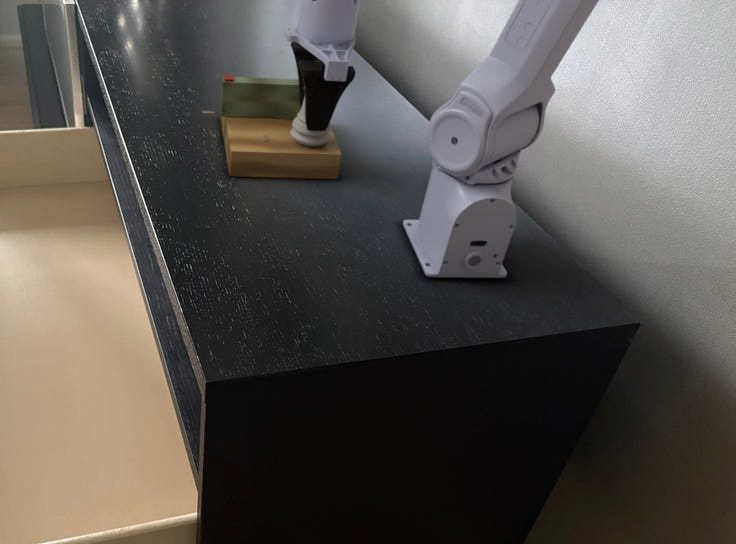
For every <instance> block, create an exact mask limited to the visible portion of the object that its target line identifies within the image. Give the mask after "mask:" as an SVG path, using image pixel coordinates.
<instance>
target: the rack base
mask: <svg viewBox="0 0 736 544" xmlns="http://www.w3.org/2000/svg"><path fill="white" fill-rule="evenodd" d="M300 110H301V108H300ZM215 113H216V112H215V111H207V110H205V111H204V110H202V112H201V114H202V115H215ZM293 120H294V119H280V118H253V117H227V116H221V115H220V124H221V131H222V136H223V143H224V149H225V156H226V157H225V158H226V163H227V169H228V176H229V177H237V178H238V177H240V178H279V179H280V178H281V179H282V178H283V179H313V180H314V179H315V180H316V179H317V180H318V179H321V180H338V178H339V172H340V167H341V162H342V156H343V154H342V152H341V148H340V146H339V144H338V141H337V139H336V136H335V134H334V132H333V129H332V128H331V131H330V132H329V133H330V135H331V137H330V139H329V140H328V141H327V142H326V143H325V144H324V145H320V146H307V145H303V144H300V143H298V142H296V141H295V140H294V138H293V137H292V135H291V133H290V132H291V129H293V126H292V123H293Z"/></svg>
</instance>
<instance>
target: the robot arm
mask: <svg viewBox="0 0 736 544" xmlns="http://www.w3.org/2000/svg"><path fill="white" fill-rule="evenodd" d="M599 1H600V0H517V3H516V4H515V6H514V8H513V10H512V12H511V14H510V15H509V17H508V19H507V21H506V23H505V25H504V27H503V29H502V31H501V32H500V34H499V36H498V37H497V40H496V41H495V44H494V46H493V48H491V51H490V52H489V54H488V56H486V58H485V59H484V60H483V61H482V62H480V63H479V65H478V66H477V67H476V68H475V69H474V70H472V72H470V74H468V75H467V76H466V77H465V78H464V79H463V80H462V81H461V83H460V84H459V86H458V87H457V89H456V91H455V93H454V95H453V96H452V97H451V99H450V100H449V101H447V102H446V103H445V104H443V105H441V106H440V107H438V108H437V109H436V110H435V112H434V113H433V114H432V115H431V118H430V119H429V122H428V125H427V129H426V144H427V148H428V152H429V155H430V157H431V158H432V163H431V165H432V169H431V172H430V176H429V180H428V184H427V188H426V192H425V195H424V199H423V203H422V206H421V210H420V214H419V217H418V219H404V220H403V221H402V226H403V228H404V230H405V233H406V235H407V237H408V240H409V242H410V244H411V246H412V249H413V250H414V252H415V254H416V257H417V259H418V262H419V264H420V266H421V268H422V270H423V273H424V274H425V276H426V277H428V278H467V279H468V278H472V279H473V278H474V279H475V278H476V279H477V278H479V279H480V278H481V279H483V278H485V279H504V278H506V277H507V276H508V272H507V270H506V268H505V266H504V264H503V262H504V259H505V256H506V253H507V250H508V247H509V246H510V242H511V239H512V236H513V235H514V232H515V229H516V226H517V221H518V214H517V211H516V208H515V206H514V203H513V199H512V183H513V180H514V176H515V173H516V171H517V168H518V167H517V166H518V161H519V157H520V156H521V151H522V150H526V149H527V148H529V147H531V146H532V145H533V144H534V143H535V142H536V141H537V140H538V138H539V137H540V135H541V133H542V131H543V128H544V125H545V117H546V110H547V107H548V104H549V102H550V101H551V99H552V97H553V96H554V94H555V93H556V86H555V84H554V83H553V80H552V76H553V75H554V73H555V72H556V70H557V68H558V67H559V66H560V63H562V60H563V59H564V58H565V55H566V54H567V52H568V51H569V49H570V48H571V46H572V45H573V43H574V42H575V40H576V38H577V36H578V34H579V33H580V32H581V30H582V28H583V27H584V25H585V23H586V22H587V21H588V18H589V17H590V15H591V14H592V12H593V10H594V9H595V8H596V6H597V5H598V2H599ZM360 2H361V0H300V4H299V13H298V21H297V26H296V27H292V28H291V27H287V28H286V29H285V30H284V37H285V40H286V41H287V42H290V47H291V50H292V52H293V57H294V60H295V64H296V65H295V66H296V70H297V71H296V72H297V80H298V81H299V99H300V108H302V104H303V101H304V96H305V121H306V127H307V130H311V131H326V129H327V127H328V125H329V123H330V124H331V121H332V119H333V115H334V113H335V110H336V108H337V105H338V104H339V102H340V99H341V97H342V95H343V94H344V92H345V91H346V90H347V88H348V87H349V86H350V85H351V83H352V82H353V81H354V79H355V78H356V70H355V68H354V66H353V65H349V64H350V61H349V58H350V57H351V54H352V52H353V49H354V47H355V45H356V39H357V36H356V35H355V33H356V27H357V21H358V15H359V9H360ZM317 61H318V62H317Z"/></svg>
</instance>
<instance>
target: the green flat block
mask: <svg viewBox="0 0 736 544" xmlns="http://www.w3.org/2000/svg"><path fill="white" fill-rule="evenodd" d="M220 88H221V89H220V109H219V110H220V117H221V116H227V117H253V118H280V119H295V118H296V117H297V114H298V113H299V112H300V99H299V81H298V79H293V78H292V79H291V78H272V77H271V78H270V77H248V76H247V77H246V76H234V74H224V75H223V76H221V87H220Z"/></svg>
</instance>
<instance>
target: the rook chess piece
mask: <svg viewBox="0 0 736 544" xmlns="http://www.w3.org/2000/svg"><path fill="white" fill-rule="evenodd" d="M317 62H318V61H317ZM292 126H293V129H291V132H290V133H291V135H292V137H293V138H294V140H295V141H296V142H298V143H300V144H303V145H307V146H320V145H324V144H325V143H326V142H327V141H328V140H329V139H330V137H331V135H330V133H329V132H330V131H331V129H332V124H331V122H330V123H329V125H328V127H327V129H326V131H311V130H307V127H306V121H305V96H304V101H303V104H302V108H301V110H300V112H299V113H298V114H297V117H296V118H295V119H294V120H293V123H292Z"/></svg>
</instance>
